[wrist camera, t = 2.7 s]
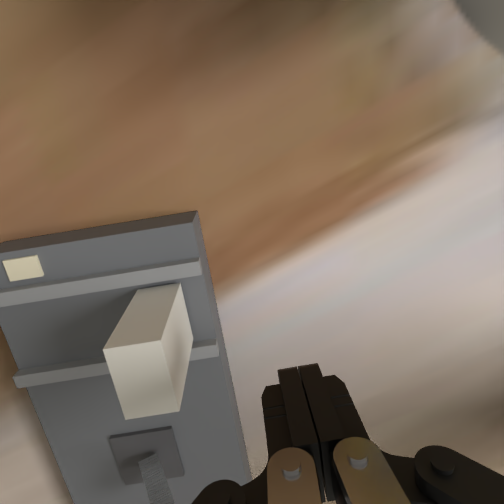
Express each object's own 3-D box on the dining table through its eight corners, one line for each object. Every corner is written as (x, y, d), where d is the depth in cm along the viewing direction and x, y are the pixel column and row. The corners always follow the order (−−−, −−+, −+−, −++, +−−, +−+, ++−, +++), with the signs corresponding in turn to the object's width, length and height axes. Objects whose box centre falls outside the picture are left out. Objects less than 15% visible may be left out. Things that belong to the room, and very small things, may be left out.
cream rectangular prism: (180, 282, 21) (160, 340, 15) (193, 338, 22) (179, 411, 17) (137, 289, 21) (102, 349, 15) (152, 344, 22) (125, 419, 17)
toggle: (162, 443, 24) (194, 524, 19) (170, 468, 25) (203, 554, 20) (128, 459, 24) (151, 550, 18) (136, 486, 24) (162, 580, 19)
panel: (197, 210, 23) (190, 225, 20) (266, 548, 33) (270, 599, 29) (4, 241, 23) (-37, 262, 20) (128, 570, 33) (116, 623, 29)
